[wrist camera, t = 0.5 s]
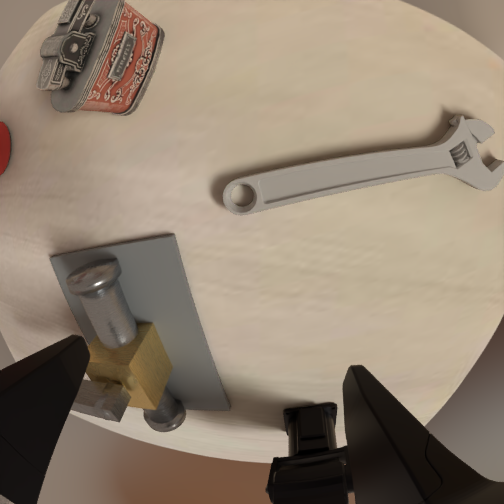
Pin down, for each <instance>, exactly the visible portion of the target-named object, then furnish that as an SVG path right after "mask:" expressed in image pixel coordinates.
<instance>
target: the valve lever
mask: <svg viewBox="0 0 504 504" xmlns="http://www.w3.org/2000/svg"><path fill="white" fill-rule="evenodd" d="M130 399H131V396H130V394H129V393H128V392H127V390H126V388H125V387H124V386H123V385H116V384H114V383H111V382H108V383H102V382H96V381H90V380H84V379H83V380H82V383H81V386H80V389H79V391H78V394H77V396H76V398H75V401H74V403H73V405H72V407H71V410H74V411H77V412H80V413H84V414H88V415H91V416H95V417H99V418H103V419H105V420H112V421H116V422H120V421H121V418H122V416H123V414H124V412H125V410H126V408H127V405H128V403H129V401H130Z"/></svg>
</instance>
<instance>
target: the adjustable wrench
mask: <svg viewBox="0 0 504 504" xmlns="http://www.w3.org/2000/svg"><path fill="white" fill-rule="evenodd" d="M449 123H450V125H451V127H450V128H449V130H448V131H447V133H446V134H445V135H444V136H443V137H442V139H440V140H439V141H438V142H436V143H434V144H431V145H427V146H420V147H410V148H401V149H392V150H384V151H376V152H369V153H362V154H355V155H349V156H342V157H336V158H330V159H325V160H319V161H314V162H308V163H303V164H298V165H293V166H288V167H283V168H278V169H274V170H269V171H265V172H260V173H256V174H252V175H247V176H243V177H239V178H236V179H234V180H232V181H231V182H230V183H229V184H228V185H227V186H226V188H225V190H224V192H223V202H224V204H225V206H226V208H227V209H228V210H229V211H230V212H232V213H233V214H236V215H240V216H241V215H248V214H252V213H256V212H260V211H264V210H268V209H272V208H276V207H281V206H285V205H289V204H293V203H297V202H302V201H306V200H310V199H315V198H319V197H324V196H328V195H333V194H337V193H342V192H347V191H351V190H356V189H361V188H366V187H370V186H375V185H380V184H385V183H390V182H396V181H401V180H406V179H412V178H417V177H423V176H428V175H434V174H446V175H450V176H453V177H455V178H457V179H459V180H461V181H463V182H464V183H466V184H468V185H470V186H471V187H473V188H476V189H479V190H482V191H490V190H492V189H493V188H495V187H496V186H497V185H498V184H499V182H500V181H501V179H502V177H503V174H504V161H502V160H497V159H496V160H495V161H494V162H493V163H492V164H490V165H489V166H488V167H486V166H485V165H484V164H483V163H482V160H481V157H480V154H479V151H478V149H477V143H483V142H484V141H486V140H487V139H488V138H489V137H491V136H492V135H493V134H494V133H495V132H494V129H493V128H492V127H491V126H490V125H489V124H487V123H486V122H484V121H482V120H479V119H464V117H463V115H455V116H454V117H453V119H451V120H450V121H449ZM241 184H244V185H247V186H249V187H250V188H251V189H252V191H253V193H254V198H253V201H252V202H251V203H250V204H249V205H248V206H245V207H241V206H237V205H236V204H235V203H234V202H233V201H232V199H231V192H232V190H233V188H234V187H235V186H237V185H241Z"/></svg>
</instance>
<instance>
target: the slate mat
mask: <svg viewBox="0 0 504 504" xmlns="http://www.w3.org/2000/svg"><path fill="white" fill-rule="evenodd" d="M114 258H117V259H118V261H119V264H120V266H121V269H122V273H121V275H120V276H119V278H118V280H119V283H120V286H121V288H122V291H123V293H124V296H125V298H126V301H127V303H128V306H129V308H130V311H131V313H132V315H133V318H134V320H135V322H136V323H154V325H155V328H156V330H157V333H158V335H159V337H160V340H161V342H162V344H163V346H164V349H165V351H166V353H167V355H168V357H169V359H170V362H171V364H172V366H173V369H172V371H171V374H170V376H169V379H168V381H167V384H166V385H167V387H168V389H169V390H170V392H171V394H172V396H173V397H174V399H179V400H181V402H182V403H183V405H184V407H185V409H190V410H216V411H230V408H231V406H230V404H229V401H228V399H227V396H226V394H225V391H224V388H223V386H222V383H221V380H220V378H219V375H218V372H217V369H216V367H215V364H214V361H213V358H212V356H211V353H210V350H209V347H208V344H207V341H206V338H205V335H204V332H203V329H202V326H201V323H200V320H199V317H198V314H197V311H196V307H195V304H194V301H193V298H192V294H191V291H190V288H189V284H188V281H187V277H186V274H185V271H184V267H183V263H182V260H181V256H180V253H179V249H178V245H177V241H176V238H175V234H171V235H165V236H159V237H153V238H147V239H141V240H136V241H130V242H124V243H119V244H113V245H108V246H102V247H97V248H91V249H86V250H81V251H76V252H71V253H66V254H61V255H56V256H52V257H51V258H50V261H51V264H52V266H53V269H54V271H55V274H56V276H57V279H58V281H59V284H60V286H61V289H62V291H63V293H64V295H65V298H66V300H67V302H68V304H69V306H70V309H71V311H72V313H73V315H74V317H75V319H76V321H77V323H78V325H79V327H80V329H81V331H82V332H83V334H84V336H85V338H86V340H87V342H88V344H90V343H91V342H92V341H93V339H94V338H95V337H96V335H97V333H96V331H95V329H94V327H93V325H92V323H91V321H90V319H89V317H88V315H87V313H86V311H85V309H84V307H83V304H82V302H81V300H80V298H79V296H77V295H72V294H71V293H70V291H69V288H68V286H67V284H66V278H67V277H68V275H69V274H70V273H72V272H73V271H74V270H76V269H77V268H79V267H81V266H83V265H85V264H87V263H89V262H93V261H97V260H101V259H114Z"/></svg>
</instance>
